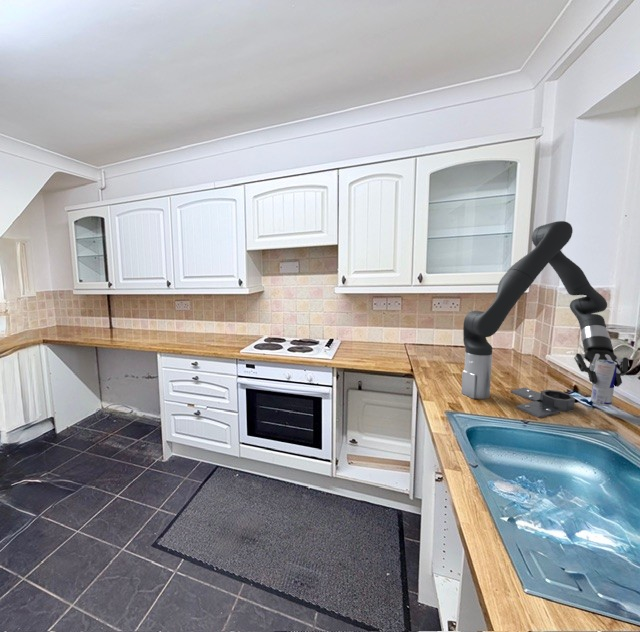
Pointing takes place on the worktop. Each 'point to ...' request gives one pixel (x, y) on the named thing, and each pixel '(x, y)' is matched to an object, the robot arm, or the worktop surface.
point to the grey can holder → (545, 402)
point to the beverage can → (604, 382)
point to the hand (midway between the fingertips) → (606, 384)
